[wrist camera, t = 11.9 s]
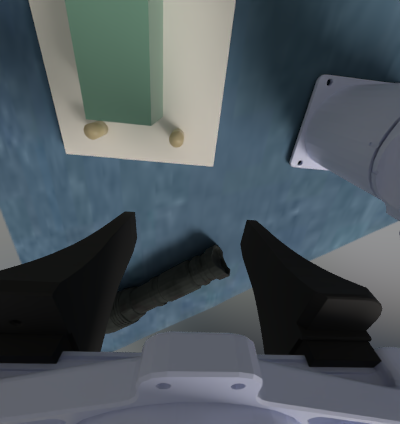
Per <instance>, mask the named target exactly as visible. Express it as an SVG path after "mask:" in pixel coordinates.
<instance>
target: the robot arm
mask: <svg viewBox="0 0 400 424" xmlns="http://www.w3.org/2000/svg"><path fill="white" fill-rule="evenodd" d="M329 79H330V84H329V85H328V86H327V81H328V80H329ZM299 161H301V163H300V164H298V162H299ZM289 164H290V165H291V166H292V167H298V168H309V169H320V170H329V171H331V172H333V173H335V174H336V175H338V176H340V177H342V178H343V179H345V180H347V181H349V182H350V183H352V184H354V185H356V186H357V187H359V188H361V189H363V190H364V191H366V192H368V193H370V194H371V195H373V196H375V197H377V198H379V199H380V200H382V201H383V202H384V203H385V205H386V213H387V214H389V215H390V216H392V217H394V218H395V219H397V220H398V221H400V83H388V82H380V81H373V80H365V79H357V78H350V77H342V76H334V75H321V76H320V77H319V78H318V79H317V81H316V84H315V87H314V90H313V93H312V96H311V99H310V102H309V105H308V108H307V111H306V114H305V117H304V120H303V122H302V125H301V128H300V131H299V134H298V137H297V140H296V143H295V146H294V149H293V152H292V155H291V158H290V161H289ZM136 240H137V232H136V219H135V212H124V213H122V214H121V215H119V216H118V217H117V218H115V219H114V220H112V221H111V222H110V223H108V224H107V225H105V226H104V227H102V228H101V229H99V230H98V231H96V232H95V233H93V234H91V235H90V236H88V237H86V238H85V239H83V240H81V241H79V242H77V243H75V244H73V245H71V246H69V247H67V248H64V249H62V250H60V251H57V252H55V253H53V254H50V255H48V256H45V257H42V258H40V259H37V260H34V261H31V262H28V263H25V264H21V265H18V266H14V267H11V268H8V269H4V270H1V271H0V424H400V347H379V348H375V349H373V348H372V346H371V345H370V343H369V342H368V341H371V337H370V336H369V334H368V333H367V331H366V330H367V329H368V328H369V327H370V326H371V325H372V324H373V323H374V322H375V321H376V320H377V319H378V317H379V316H380V315H381V311H382V306H381V304H380V303H379V301H378V300H377V299H376V298H375V297H374V296H373V295H372V293H371V292H370V291H369V290H368V289H367V288H366V287H363V286H360V285H358V284H356V283H353V282H351V281H348V280H345V279H343V278H341V277H339V276H337V275H335V274H332V273H330V272H328V271H326V270H324V269H322V268H320V267H319V266H317V265H315V264H313V263H311V262H310V261H308V260H306V259H305V258H303V257H302V256H300V255H299V254H297V253H295V252H294V251H293V250H291V249H290V248H289V247H287V246H286V245H285V244H283V243H282V242H281V241H279V240H278V239H277V238H276V237H275V236H273V235H272V234H271V233H270V232H269V231H268V230H267V229H265V228H264V227H263V226H262V225H261V224H260V223H258V222H257V221H255V220H247V221H246V225H245V229H244V233H243V236H242V240H241V251H242V256H243V260H244V263H245V266H246V269H247V272H248V275H249V278H250V282H251V285H252V288H253V291H254V295H255V300H256V305H257V310H258V315H259V321H260V326H261V333H262V339H263V345H264V353H265V355H257V354H256V351H255V346H254V342H253V341H251V340H250V339H248V338H247V337H246V336H244V335H240V334H235V333H211V332H209V333H208V332H173V331H171V332H163V333H157V334H155V335H154V336H151V337H150V338H148V339H147V340H146V342H145V344H144V346H143V349H142V353H135V352H133V353H132V352H101V348H102V343H103V339H104V336H105V332H106V328H107V324H108V320H109V317H110V313H111V310H112V306H113V303H114V300H115V297H116V293H117V290H118V287H119V284H120V282H121V279H122V277H123V275H124V272H125V270H126V268H127V265H128V263H129V261H130V258H131V256H132V254H133V251H134V248H135V244H136Z"/></svg>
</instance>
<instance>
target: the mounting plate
mask: <svg viewBox="0 0 400 424" xmlns="http://www.w3.org/2000/svg"><path fill="white" fill-rule="evenodd" d="M235 3H236V0H163V117H162V118H161V119H160V120H158V121H157V122H156V123H154V124H153V125H152V126H146V125H136V124H127V123H117V122H107V121H97V120H87V119H86V117H85V111H84V106H83V100H82V95H81V89H80V83H79V78H78V72H77V67H76V61H75V55H74V50H73V44H72V39H71V33H70V28H69V22H68V16H67V11H66V5H65V0H29V4H30V8H31V12H32V17H33V21H34V25H35V29H36V33H37V37H38V41H39V45H40V49H41V53H42V57H43V61H44V65H45V69H46V73H47V77H48V82H49V86H50V90H51V94H52V98H53V102H54V106H55V110H56V114H57V118H58V122H59V126H60V130H61V134H62V138H63V142H64V147H65V151H66V154H76V155H87V156H98V157H110V158H121V159H132V160H143V161H155V162H166V163H177V164H189V165H200V166H211V167H213V163H214V156H215V149H216V142H217V134H218V127H219V120H220V112H221V105H222V98H223V90H224V83H225V76H226V68H227V61H228V54H229V46H230V39H231V32H232V25H233V17H234V10H235Z"/></svg>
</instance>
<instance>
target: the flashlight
mask: <svg viewBox="0 0 400 424" xmlns="http://www.w3.org/2000/svg"><path fill="white" fill-rule="evenodd" d="M229 275H230V269H229V268H228V267H227V265H226V263H225V261H224V258H223V252H222V250H221V249H220V247H218V246H217V245H213V246H211V247H210V248H208V249H206V250H205V253H204V254H202V255H200V256H198V255H197V256H195V257H193V258H192V260H191V261H189V260H186V261H185V262H183V263H181V264H179V265H177V266H175V267H173V268H171V269H169V270H167V271H165V272H163V273H161V274H160V275H159V277H154V278H152V279H151V280H150V281H149V282H147V283H145V284H143V285H141V286H139V287H133V288H126V289H124V290H122V291H120V292H118V293H116V297H115V300H114V303H113V306H112V310H111V313H110V317H109V320H108V324H107V328H106V332H105V334H108V333H112V332H116V331H118V330H120V329H122V328H124V327H127V326H129V325H131V324H133V323H135V322H137V321H138V320H139V319H140V318H141V317H142V316H143V315H145V314H146V312H147V311H149V310H151V309H153V308H155V307H157V306H163V305H165V304H167V302H168V301H174V300H176V299H178V298H180V297H182V296H185V295H187V294H189V293H191V292H193V291H195V290H197V289H199V288H201V285H207V284H209V283H210V281H212V280H214V279H216V278H217V279H219V280H220V279H223V278H225V277H228V276H229Z"/></svg>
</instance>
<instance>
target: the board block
mask: <svg viewBox="0 0 400 424" xmlns="http://www.w3.org/2000/svg"><path fill="white" fill-rule="evenodd" d="M65 5H66V11H67V16H68V22H69V28H70V33H71V39H72V44H73V50H74V55H75V61H76V67H77V72H78V78H79V83H80V89H81V95H82V100H83V106H84V111H85V117H86V119H87V120H97V121H107V122H117V123H127V124H136V125H146V126H152V125H153V124H154V123H156V122H157V121H158V120H160V119H161V118H162V117H163V0H65Z"/></svg>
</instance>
